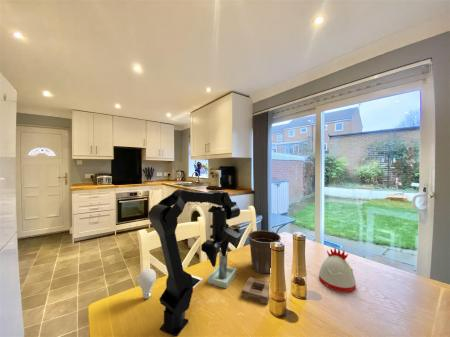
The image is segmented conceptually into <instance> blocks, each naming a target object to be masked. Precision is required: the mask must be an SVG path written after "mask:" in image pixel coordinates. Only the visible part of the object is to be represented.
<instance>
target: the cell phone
mask: <svg viewBox="0 0 450 337" xmlns="http://www.w3.org/2000/svg"><path fill="white" fill-rule="evenodd" d="M190 275H191V276H192V282H193V284H194V286H193V289H195V288H196V286H198V285H199V284H200V283H201V282H202V281H203V279H204V278H202V277H199V276H195V275H193V274H190Z"/></svg>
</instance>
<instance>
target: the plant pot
mask: <svg viewBox="0 0 450 337" xmlns="http://www.w3.org/2000/svg"><path fill="white" fill-rule="evenodd" d="M247 238H248V241H249V247H250V258H251V259H250V260H251V267H252V269H253V270H254V271H255V272H257V273H259V274H264V275H266V274H271V273H270V268H271V248H270V243H271V242H281V240H282V237H281V235H280V234H278V233H277V232H274V231H269V230H254V231H251V232H249V233H247Z"/></svg>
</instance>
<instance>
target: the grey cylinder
mask: <svg viewBox="0 0 450 337" xmlns="http://www.w3.org/2000/svg"><path fill="white" fill-rule="evenodd" d="M228 251H229V250H228V249H227V251H226V255H225V256H222V252H221V248H220V252H218V254H219V257H218V258H219V260H218V266H219V278H220V279H225V278H226V276H227V267H228Z"/></svg>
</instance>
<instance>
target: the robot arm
mask: <svg viewBox="0 0 450 337" xmlns="http://www.w3.org/2000/svg"><path fill="white" fill-rule="evenodd" d="M187 203H209V204H211V207H210V208H208V210H207V212H208V213H211V224H210V226H209V228H210V229H211V235H209V238H210V239H206V240H205V241H204V242H203V243H201V244H200V250H201V252H202V253H205V255H206V257H207V258H208V260H209V263H210V264H211V266H212V267H213V268H215V267H216V264H217V257H218V254H219V252H220V249H221V252H222V256H225V255H226V251H227V250H228V247H229V244H231V245H233V246H236V245H237V244H238V243H239V241H240V238H241V237H242V233H241V228H239V227H236V228H234V229H233V228H230V224H229V223H227V220H231V219H235V218H238V217H239V216H240V215H241V209H240V207H239V206H238V204H237V202H236V201H232V199H231V197H230V195H229V192H227V191H225V190H216V189H214V190H212V189H211V190H208V191H197V190H194V191H193V190H187V189H179V188H178V189H175V190H174V191H173V192H172V193H171V194H170V195H168V196H167V197H165V198H163V199H161V200H160V201H159V202H158V203H157V204H155V205H153V206H152V207H151V208H150V209H149V211H148V214H147V215H148V216H147V217H148V220H149V222H150V224H151V226H152V228H153V229H154V230H155V232H156V233H157V235H158V237H159V241H160V245H161V249H162V254H163V258H164V263H165V266H166V270H167V274H168V275H167V278H166V282H165V286H166V287H165V289H164V291H163V292H162V294H161V295H160V297H159V302H160V304H161V305H162V306H163V307H164V310H163V324H162V325H160V326H159V330H160V331H162V332H164V333H167V334H168V335H171V336H173V337H178V335H179V334H180V333H181V332H182V330H183V329H184V328H185V327H186V325H188V324H189V319H187V318H186V311H187V310H188V309H190V304H191V300H192V296H193V293H194V288H193V286H194V284H193V282H192V276H191V275H192V274H190V273H189V272H187V271H185V270H184V268H183V262H182V258H181V254H180V249H179V244H178V240H177V235H176V229H177V228H178V217H179V216H180V215H181V214H182V213H183V211H184V209H185V206H186V204H187ZM227 252H228V251H227Z"/></svg>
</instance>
